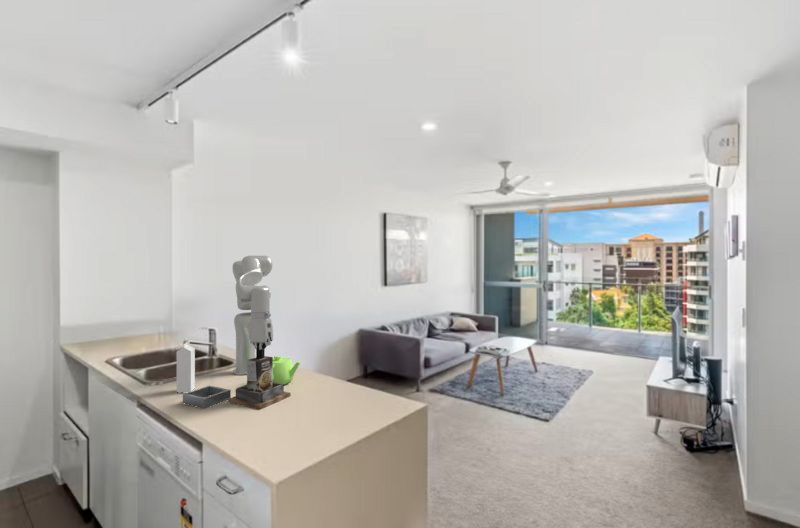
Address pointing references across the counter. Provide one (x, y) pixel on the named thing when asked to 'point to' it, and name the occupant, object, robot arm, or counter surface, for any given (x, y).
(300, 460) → the counter surface
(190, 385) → the milk
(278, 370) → the teapot
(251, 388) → the coffee box
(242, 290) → the robot arm
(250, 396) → the dock
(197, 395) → the grey square frame
